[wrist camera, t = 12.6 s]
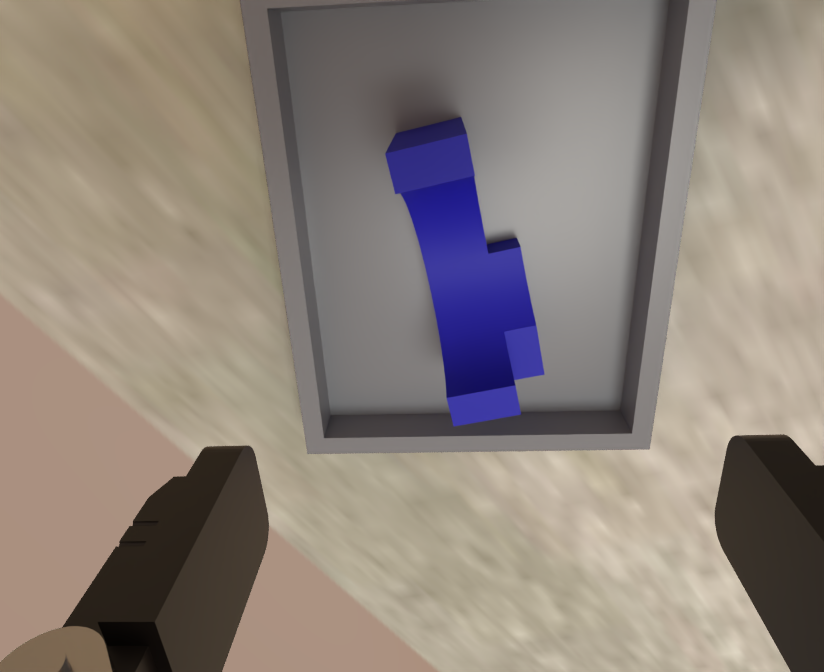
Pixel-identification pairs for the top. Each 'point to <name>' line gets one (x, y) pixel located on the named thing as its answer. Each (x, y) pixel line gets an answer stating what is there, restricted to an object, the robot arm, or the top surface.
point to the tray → (498, 200)
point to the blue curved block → (466, 275)
